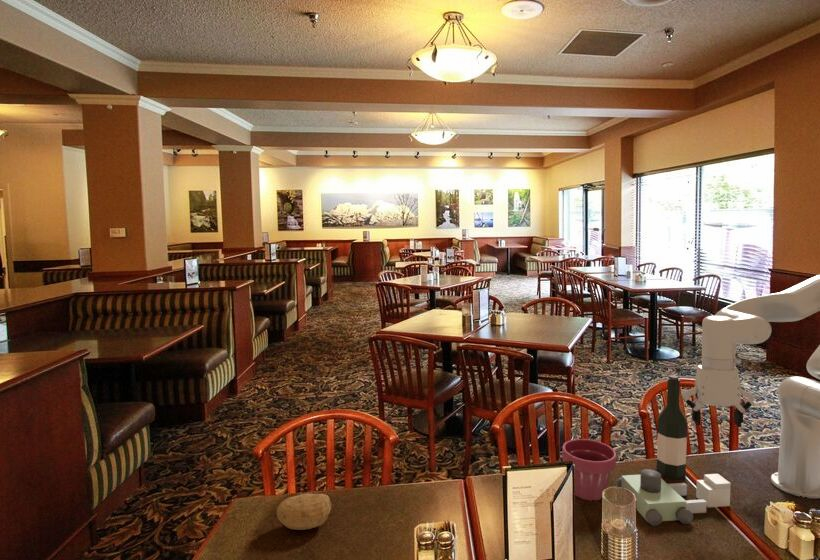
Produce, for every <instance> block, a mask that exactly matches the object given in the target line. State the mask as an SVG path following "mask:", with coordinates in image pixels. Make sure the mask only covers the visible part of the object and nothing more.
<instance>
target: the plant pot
mask: <svg viewBox="0 0 820 560" xmlns="http://www.w3.org/2000/svg"><path fill="white" fill-rule="evenodd" d="M561 453H562V455H561V458H562V461H563V463H564V462H565V461H572V462H573V463H574V464H575V494H574V495H575V496H576V497H577V498H580V499H582V500H587V501H592V500H594V501H600V500H601V495H602V491H603V490H604V489H606V488H607V489H608V487H609V482H610V479H611V475H612V472H613V471H614V470H615V469H616V466H617V452H616V451H615V449H614V448H612V447H611V446H609V445H608V444H606V443H603V442H601V441H598V440H595V439H587V438H578V439H577V438H576V439H575V438H574V439H569V440H568V441H565V442H564V443H563V444H562V451H561ZM607 489H606V490H607Z"/></svg>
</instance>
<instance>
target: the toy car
mask: <svg viewBox="0 0 820 560" xmlns="http://www.w3.org/2000/svg"><path fill="white" fill-rule="evenodd" d="M615 486H616V487H617V486H618V487H623V488H626V489H628V490H630V491H632V492H633V493H634V494H635V496H636V499H637V509H636V510H637V512H638V513H639V514H640V515H641V516H642V517H643V518H644V520H645V521H646V522H647V523H649V525H651V526H652V527H658V526H660V525H661V524H662V522H669V521H679V522H681V523H682V524H684V525H688V524H689V523H692V521H693V519H694V514H706V513H707V506H706V505H707V502H706V501H705V500H704V499H700V500H699V499H688V500H686V499H685V498H683V497H684V496H688V484H686V483H685V482H677V483H675V482H674V483H667V482H666V481H665V480H664V479H663V478H662V475H661V474H660V473H659V472H657V470H654V469H649V468H644V469H642V470H641V471H640V474H626V475H621V476H620V477H618V478H617V479H616V481H615ZM618 487H617V488H618ZM682 496H683V497H682Z"/></svg>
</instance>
